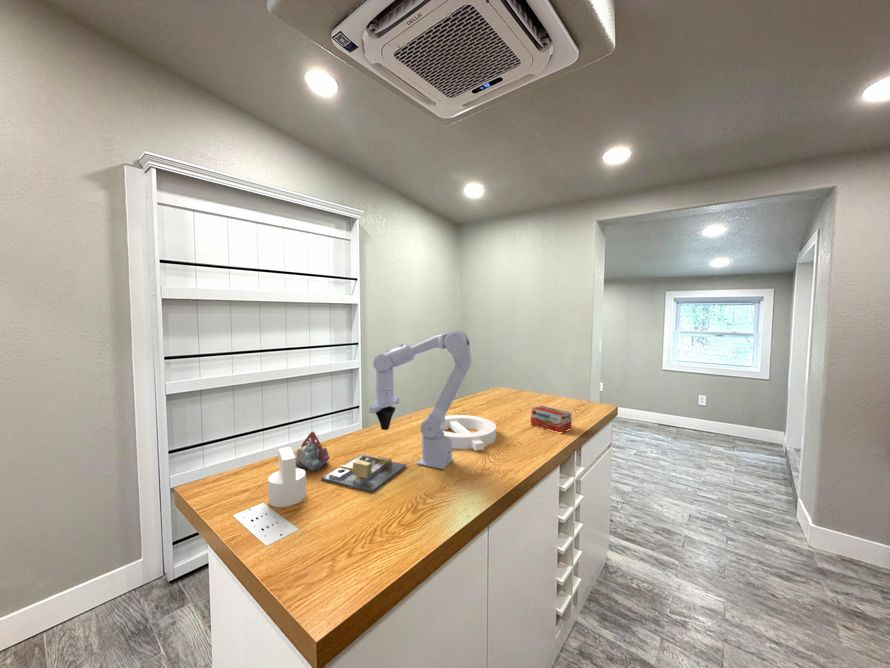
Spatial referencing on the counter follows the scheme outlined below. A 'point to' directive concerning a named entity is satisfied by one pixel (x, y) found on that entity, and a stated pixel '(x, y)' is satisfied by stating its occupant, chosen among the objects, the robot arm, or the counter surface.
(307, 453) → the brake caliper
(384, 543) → the counter surface
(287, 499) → the base with upright slab
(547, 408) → the medicine box
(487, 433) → the white circle with bar
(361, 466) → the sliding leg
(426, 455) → the robot arm
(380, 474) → the grey mechanism base plate
